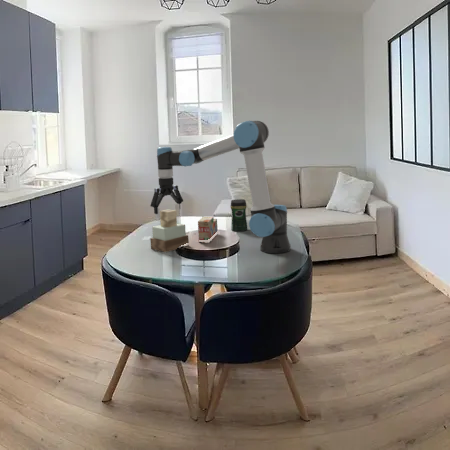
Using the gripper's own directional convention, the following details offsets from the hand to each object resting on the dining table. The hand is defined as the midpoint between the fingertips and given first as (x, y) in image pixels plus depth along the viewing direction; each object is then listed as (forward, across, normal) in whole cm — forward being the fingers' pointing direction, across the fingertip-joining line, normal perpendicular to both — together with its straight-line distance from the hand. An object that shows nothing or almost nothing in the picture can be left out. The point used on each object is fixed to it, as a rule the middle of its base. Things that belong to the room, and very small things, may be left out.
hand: (168, 217), depth 262 cm
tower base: (+16, 0, 0) cm, 16 cm away
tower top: (+10, 0, 0) cm, 10 cm away
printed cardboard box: (+16, -26, +3) cm, 31 cm away
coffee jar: (+16, -52, +3) cm, 54 cm away
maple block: (+4, 0, 0) cm, 4 cm away
